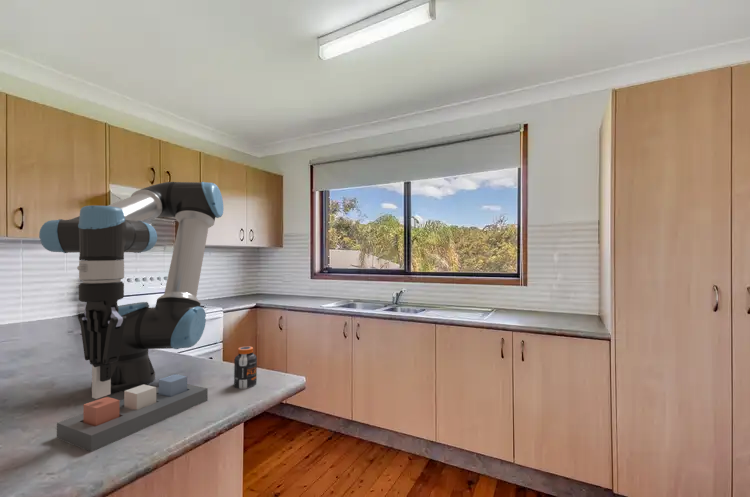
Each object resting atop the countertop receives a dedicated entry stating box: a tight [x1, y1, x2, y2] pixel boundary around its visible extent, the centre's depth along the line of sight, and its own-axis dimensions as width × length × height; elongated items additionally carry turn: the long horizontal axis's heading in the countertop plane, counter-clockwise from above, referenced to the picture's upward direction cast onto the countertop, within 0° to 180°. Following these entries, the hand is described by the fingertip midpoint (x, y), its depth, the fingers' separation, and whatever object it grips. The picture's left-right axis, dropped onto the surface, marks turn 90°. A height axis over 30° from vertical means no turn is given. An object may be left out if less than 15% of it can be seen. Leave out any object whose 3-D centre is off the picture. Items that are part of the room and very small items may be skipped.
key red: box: [82, 396, 120, 427], centre depth 76 cm, size 4×4×4 cm
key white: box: [123, 384, 157, 411], centre depth 83 cm, size 4×4×4 cm
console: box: [56, 383, 209, 453], centre depth 83 cm, size 12×26×4 cm, turn 155°
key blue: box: [158, 373, 188, 397], centre depth 91 cm, size 4×4×4 cm
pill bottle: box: [233, 345, 258, 390], centre depth 104 cm, size 6×6×11 cm
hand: (101, 395), depth 76 cm, fingers closed
